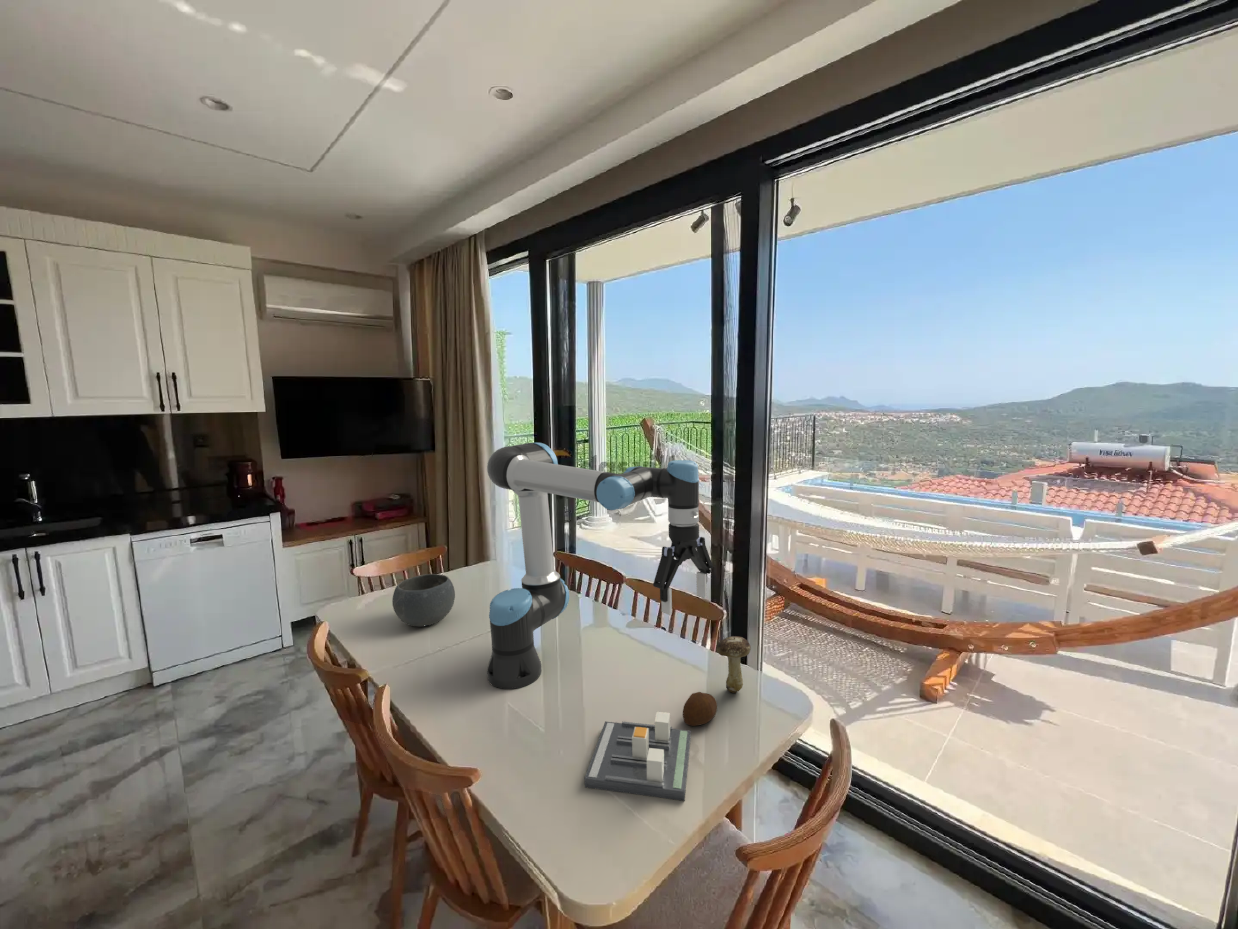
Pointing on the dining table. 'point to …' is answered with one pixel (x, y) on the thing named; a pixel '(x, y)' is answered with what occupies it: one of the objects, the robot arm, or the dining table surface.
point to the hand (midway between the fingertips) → (684, 604)
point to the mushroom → (734, 660)
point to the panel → (638, 762)
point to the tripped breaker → (640, 742)
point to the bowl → (423, 599)
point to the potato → (699, 709)
